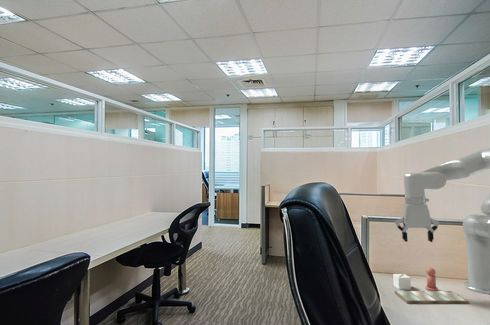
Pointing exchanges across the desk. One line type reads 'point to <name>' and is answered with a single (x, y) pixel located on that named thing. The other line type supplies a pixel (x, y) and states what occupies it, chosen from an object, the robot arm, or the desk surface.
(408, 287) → the die
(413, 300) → the board
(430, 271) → the pawn
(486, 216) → the robot arm
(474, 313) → the desk surface
